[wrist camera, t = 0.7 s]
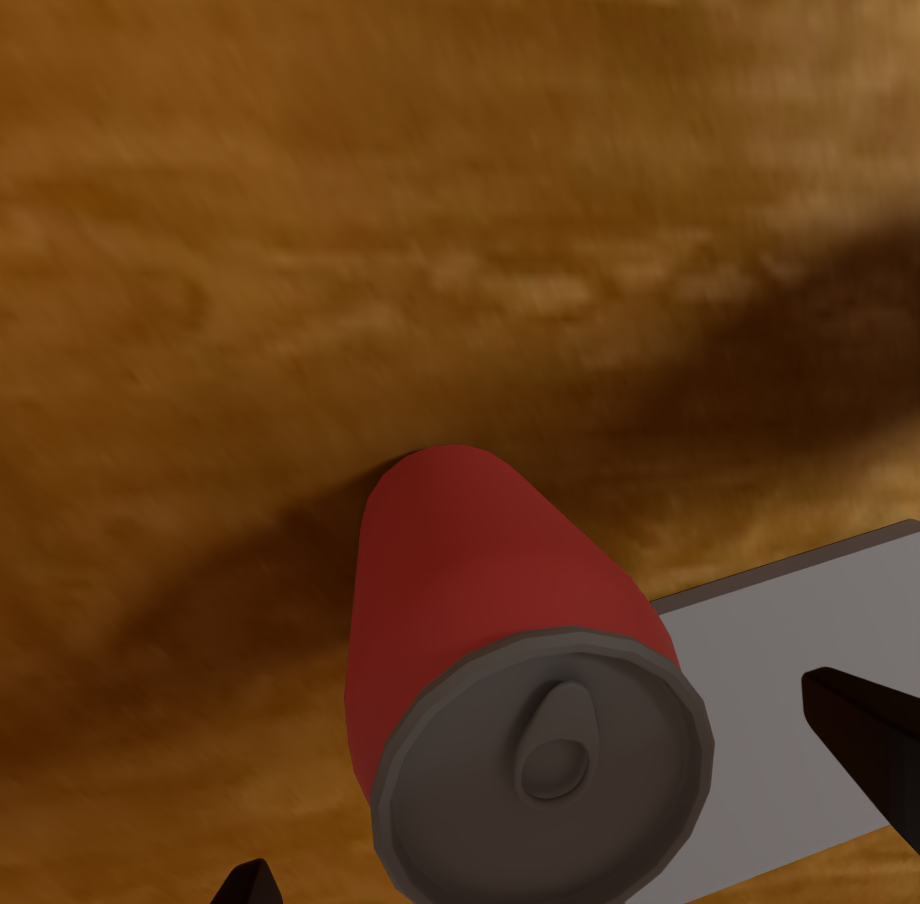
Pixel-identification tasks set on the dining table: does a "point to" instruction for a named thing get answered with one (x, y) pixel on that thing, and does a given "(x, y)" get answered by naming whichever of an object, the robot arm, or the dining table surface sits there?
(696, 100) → the dining table surface
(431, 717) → the beer can
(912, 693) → the slate board
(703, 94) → the dining table surface
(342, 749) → the dining table surface
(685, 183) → the dining table surface
